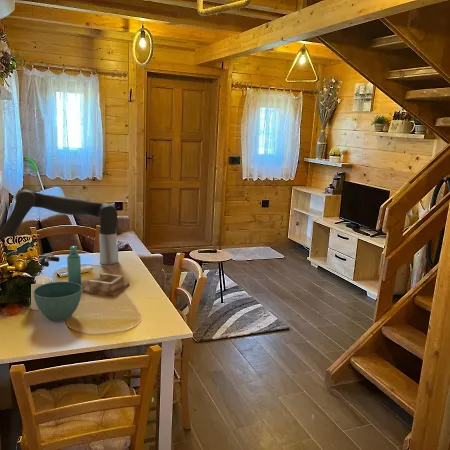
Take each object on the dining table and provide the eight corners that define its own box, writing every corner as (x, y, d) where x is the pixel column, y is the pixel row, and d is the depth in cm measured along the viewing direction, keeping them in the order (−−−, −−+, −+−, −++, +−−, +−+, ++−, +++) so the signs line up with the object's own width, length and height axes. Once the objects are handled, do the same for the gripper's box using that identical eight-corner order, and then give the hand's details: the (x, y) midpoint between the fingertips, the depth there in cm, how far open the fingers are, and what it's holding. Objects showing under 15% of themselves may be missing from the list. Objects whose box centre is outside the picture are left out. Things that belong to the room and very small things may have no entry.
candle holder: (48, 311, 191) (46, 284, 189) (24, 310, 191) (23, 283, 189) (56, 302, 201) (55, 276, 198) (34, 301, 201) (33, 275, 198)
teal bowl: (25, 320, 183) (23, 291, 180) (60, 305, 198) (59, 278, 196) (57, 331, 174) (56, 301, 172) (92, 314, 190) (91, 286, 188)
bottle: (75, 281, 227) (74, 244, 223) (83, 284, 224) (82, 246, 220) (65, 284, 222) (64, 246, 218) (73, 287, 219) (72, 249, 215)
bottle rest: (82, 292, 214) (82, 281, 212) (100, 281, 229) (99, 271, 228) (114, 296, 210) (113, 285, 209) (129, 285, 225) (129, 275, 224)
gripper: (14, 254, 220) (44, 258, 216) (33, 247, 233) (62, 250, 229) (15, 269, 221) (45, 273, 218) (34, 261, 235) (62, 265, 231)
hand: (53, 261), depth 223 cm, fingers open, 8 cm apart
